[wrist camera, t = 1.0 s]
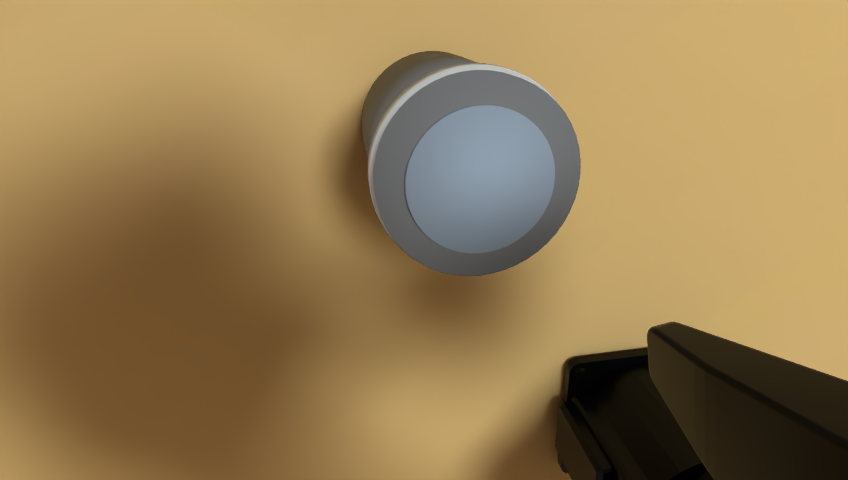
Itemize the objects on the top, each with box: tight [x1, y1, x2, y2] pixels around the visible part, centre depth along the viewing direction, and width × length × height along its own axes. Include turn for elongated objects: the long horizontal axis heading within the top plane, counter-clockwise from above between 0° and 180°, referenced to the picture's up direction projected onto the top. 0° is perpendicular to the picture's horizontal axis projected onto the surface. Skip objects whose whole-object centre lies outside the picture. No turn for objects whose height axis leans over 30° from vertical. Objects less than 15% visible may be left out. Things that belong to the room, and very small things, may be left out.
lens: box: [362, 51, 581, 276], centre depth 16 cm, size 5×5×7 cm
